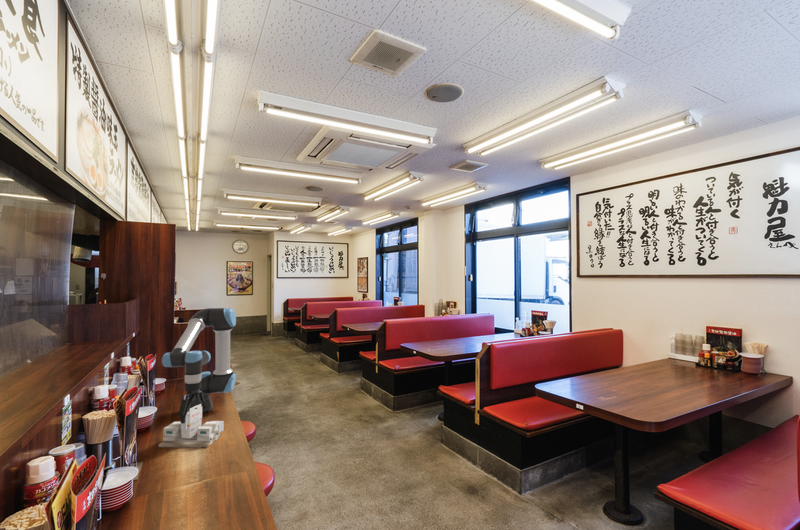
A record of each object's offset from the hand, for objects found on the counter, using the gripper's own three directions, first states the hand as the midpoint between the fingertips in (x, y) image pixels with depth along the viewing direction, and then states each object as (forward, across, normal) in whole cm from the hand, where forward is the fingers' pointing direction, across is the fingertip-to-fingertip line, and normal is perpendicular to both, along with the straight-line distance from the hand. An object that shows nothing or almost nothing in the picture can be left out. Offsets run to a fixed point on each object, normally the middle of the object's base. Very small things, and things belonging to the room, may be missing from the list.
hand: (191, 424), depth 187 cm
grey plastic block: (+9, -12, +6) cm, 16 cm away
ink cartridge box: (+6, 0, 0) cm, 6 cm away
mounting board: (+8, 0, 0) cm, 8 cm away
